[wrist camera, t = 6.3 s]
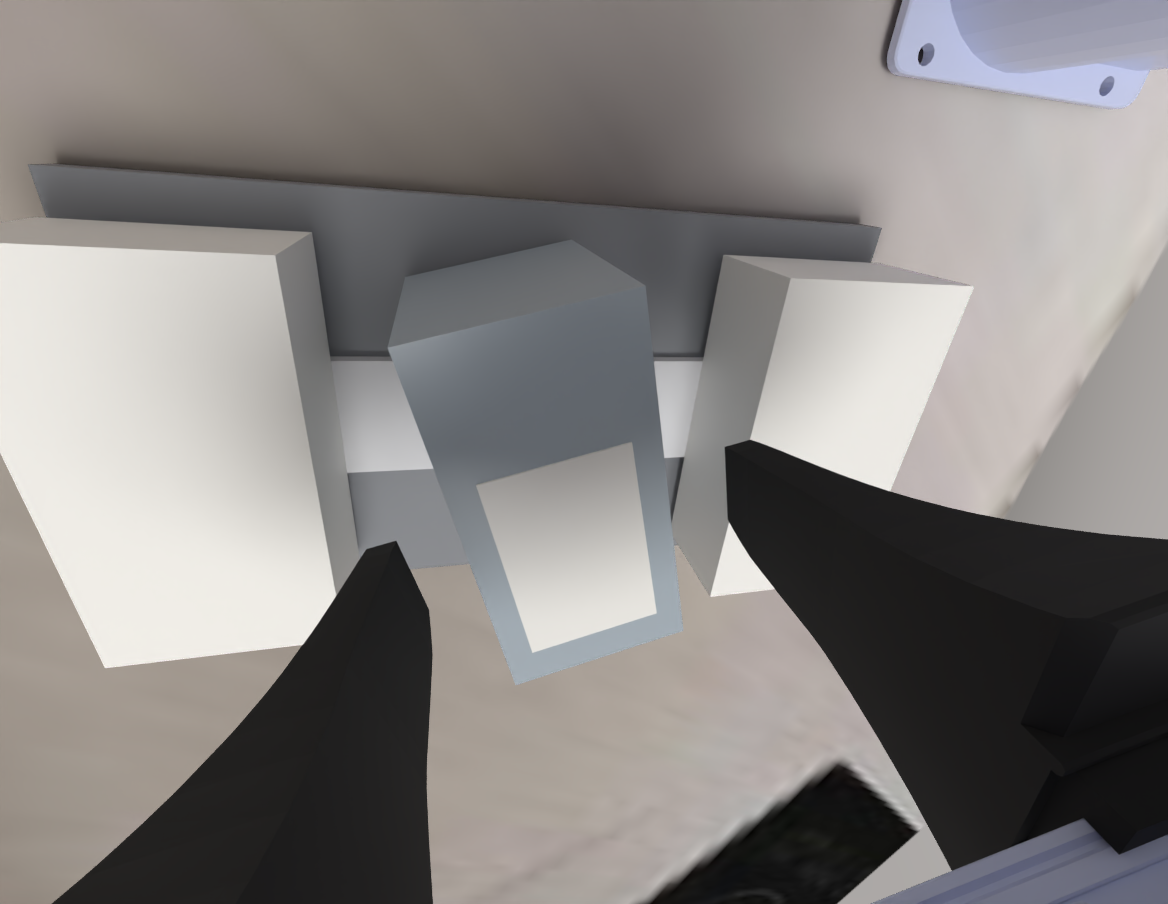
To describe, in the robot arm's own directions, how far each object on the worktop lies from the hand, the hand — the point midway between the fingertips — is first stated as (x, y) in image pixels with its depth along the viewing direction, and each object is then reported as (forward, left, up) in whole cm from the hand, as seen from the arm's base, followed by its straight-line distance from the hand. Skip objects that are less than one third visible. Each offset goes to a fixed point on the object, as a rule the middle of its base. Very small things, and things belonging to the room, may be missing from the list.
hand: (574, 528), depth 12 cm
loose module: (0, 0, -6) cm, 6 cm away
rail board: (0, 0, -7) cm, 7 cm away
